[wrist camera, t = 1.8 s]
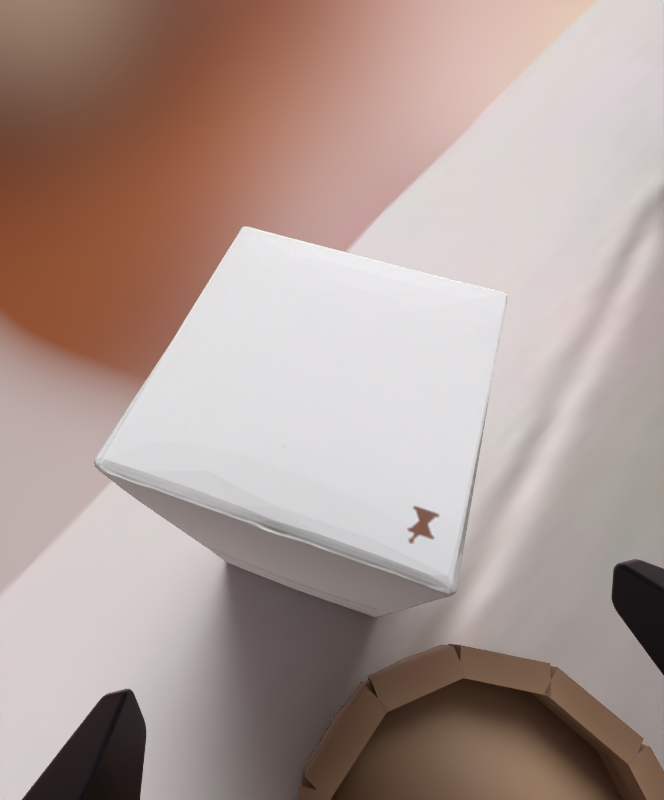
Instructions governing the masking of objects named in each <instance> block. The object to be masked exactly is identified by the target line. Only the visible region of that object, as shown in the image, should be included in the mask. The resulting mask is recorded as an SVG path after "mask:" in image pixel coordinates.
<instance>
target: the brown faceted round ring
mask: <svg viewBox="0 0 664 800" xmlns="http://www.w3.org/2000/svg"><path fill="white" fill-rule="evenodd" d="M367 677H368V681H367V682H366V683H365V684H364V683H363V682H361V683H360V685H359V686H358V687H357V689H356V690H355V692H354V693H353V695H352V696H351V697H350V698H349V700H348V701H347V702H346V703H345V705H344V706H343V707H342V708H341V710H340V711H339V712H338V714H337V715H336V716H335V717H334V719H333V721H332V722H331V724H330V726H329V727H328V729H327V731H326V732H325V734H324V736H323V737H322V739H321V741H320V743H319V744H318V746H317V747H316V749H315V750H314V751H313V753H312V754H311V756H310V757H309V759H308V760H307V762H306V770H305V771H303V773H302V779H301V785H300V791H299V797H298V800H664V771H663V769H662V767H661V766H660V764H659V762H658V760H657V758H656V756H655V755H654V753H653V751H652V749H651V747H649V746H646V745H643V744H642V741H643V738H642V737H641V736H640V735H638V734H637V733H636V732H635V731H634V730H632V729H631V728H630V727H629V726H628V725H626V724H625V723H624V722H623V721H622V720H620V719H619V718H618V717H617V716H616V715H614V714H613V713H612V712H611V711H610V710H608V709H607V708H606V707H605V706H604V705H602V704H601V703H600V702H599V701H598V700H596V699H595V698H594V697H593V696H591V695H590V694H589V693H588V692H587V691H585V690H584V689H583V688H582V687H581V686H579V685H578V684H577V683H576V682H575V681H573V680H572V679H571V678H570V677H569V676H567V675H566V674H565V673H564V672H563V671H561V670H560V669H559V668H558V667H552V666H550V663H545V662H540V661H535V660H530V659H525V658H520V657H515V656H510V655H505V654H500V653H495V652H491V651H486V650H481V649H476V648H471V647H466V646H461V645H453V644H448V645H439V646H437V647H435V648H432V649H430V650H428V651H425V652H423V653H420V654H417V655H414V656H411V657H408V658H405V659H402V660H400V661H398V662H397V663H395V664H393V665H391V666H389V667H387V668H385V669H383V670H381V671H379V672H377V673H374V674H372V675H370V676H367Z"/></svg>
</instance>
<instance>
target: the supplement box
mask: <svg viewBox="0 0 664 800" xmlns="http://www.w3.org/2000/svg"><path fill="white" fill-rule="evenodd" d="M506 303H507V295H506V294H505V293H503V292H500V291H497V290H492V289H488V288H485V287H481V286H477V285H472V284H468V283H464V282H460V281H456V280H452V279H448V278H444V277H440V276H436V275H432V274H428V273H424V272H420V271H416V270H412V269H409V268H405V267H401V266H397V265H393V264H389V263H385V262H382V261H378V260H374V259H370V258H366V257H362V256H358V255H354V254H350V253H346V252H343V251H339V250H335V249H331V248H327V247H323V246H319V245H315V244H312V243H308V242H304V241H300V240H296V239H292V238H289V237H285V236H281V235H277V234H273V233H270V232H266V231H262V230H258V229H255V228H251V227H242V228H241V230H240V232H239V234H238V235H237V237H236V238H235V240H234V242H233V243H232V245H231V247H230V248H229V250H228V251H227V253H226V254H225V256H224V258H223V259H222V261H221V263H220V264H219V266H218V267H217V269H216V271H215V272H214V274H213V275H212V277H211V279H210V280H209V282H208V284H207V285H206V287H205V289H204V290H203V292H202V293H201V295H200V296H199V298H198V300H197V301H196V303H195V304H194V306H193V308H192V309H191V311H190V313H189V314H188V316H187V318H186V319H185V321H184V322H183V324H182V326H181V327H180V329H179V331H178V332H177V334H176V336H175V337H174V339H173V340H172V342H171V343H170V345H169V347H168V348H167V350H166V351H165V353H164V354H163V356H162V357H161V359H160V360H159V362H158V363H157V365H156V366H155V368H154V369H153V371H152V372H151V374H150V375H149V377H148V379H147V380H146V381H145V383H144V384H143V386H142V387H141V389H140V391H139V392H138V394H137V395H136V396H135V398H134V399H133V401H132V403H131V404H130V406H129V407H128V409H127V410H126V412H125V413H124V415H123V417H122V418H121V420H120V421H119V423H118V424H117V426H116V427H115V429H114V430H113V432H112V434H111V436H110V437H109V438H108V440H107V441H106V443H105V444H104V446H103V447H102V448H101V450H100V451H99V453H98V454H97V456H96V458H95V461H94V464H95V467H96V468H97V469H98V470H99V471H101V472H102V473H103V474H104V475H106V476H107V477H108V478H110V479H111V480H112V481H113V482H115V483H116V484H117V485H118V486H120V487H121V488H122V489H123V490H125V491H126V492H127V493H129V494H130V495H132V496H133V497H134V498H136V499H137V500H138V501H140V502H141V503H143V504H144V505H146V506H147V507H149V508H150V509H151V510H153V511H154V512H156V513H157V514H159V515H160V516H162V517H163V518H164V519H166V520H167V521H169V522H170V523H172V524H173V525H175V526H176V527H178V528H179V529H181V530H182V531H183V532H185V533H186V534H188V535H189V536H191V537H192V538H194V539H195V540H197V541H198V542H199V543H201V544H202V545H204V546H205V547H207V548H208V549H210V550H211V551H212V552H214V553H215V554H216V555H218V556H219V557H220V558H222V559H223V560H224V561H226V562H228V563H230V564H232V565H235V566H237V567H240V568H242V569H245V570H247V571H250V572H252V573H255V574H257V575H260V576H262V577H265V578H267V579H270V580H272V581H275V582H277V583H280V584H282V585H285V586H287V587H290V588H293V589H295V590H298V591H301V592H304V593H307V594H309V595H312V596H315V597H318V598H321V599H323V600H326V601H329V602H332V603H335V604H338V605H341V606H344V607H346V608H349V609H352V610H355V611H358V612H361V613H364V614H367V615H369V616H372V617H378V616H381V615H384V614H388V613H392V612H395V611H399V610H402V609H406V608H409V607H413V606H417V605H420V604H423V603H427V602H431V601H434V600H437V599H441V598H444V597H448V596H451V595H453V594H454V593H455V592H456V591H457V584H458V577H459V571H460V565H461V559H462V554H463V548H464V542H465V536H466V530H467V524H468V518H469V512H470V506H471V501H472V495H473V489H474V483H475V477H476V471H477V465H478V459H479V453H480V447H481V441H482V435H483V429H484V423H485V417H486V411H487V406H488V400H489V394H490V388H491V383H492V377H493V372H494V367H495V361H496V356H497V351H498V346H499V341H500V335H501V330H502V326H503V319H504V314H505V309H506Z"/></svg>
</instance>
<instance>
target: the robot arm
mask: <svg viewBox="0 0 664 800" xmlns="http://www.w3.org/2000/svg"><path fill="white" fill-rule="evenodd" d="M612 602H613V605H614V607H615V609H616V611H617V612H618V614H619V615H620V616H621V618H622V619H623V621H624V622H625V623H626V625H627V626H628V627H629V629H630V630H631V631H632V633H633V634H634V636H635V637H636V638H637V640H638V641H639V642H640V644H641V645H642V646H643V648H644V649H645V651H646V652H647V653H648V655H649V656H650V657H651V659H652V660H653V661H654V663H655V664H656V666H657V667H658V668H659V670H660V671H661V672H662V674H663V675H664V569H663V568H660V567H657V566H655V565H652V564H649V563H647V562H644V561H641V560H637V559H636V560H629V561H625V562H622V563H618V564H616V566H615V567H614V571H613V584H612ZM145 744H146V725H145V721H144V718H143V716H142V713H141V710H140V708H139V705H138V703H137V700H136V698H135V695H134V693H133V691H132V690H130V689H124V690H120V691H116V692H112V693H109V694H106V695H105V696H103V697H102V698H101V699H100V701H99V702H98V703H97V704H96V706H95V707H94V708H93V709H92V711H91V712H90V713H89V715H88V716H87V717H86V718H85V720H84V721H83V722H82V723H81V725H80V726H79V727H78V729H77V730H76V731H75V732H74V734H73V735H72V736H71V738H70V739H69V740H68V741H67V743H66V744H65V745H64V746H63V748H62V749H61V750H60V752H59V753H58V754H57V755H56V757H55V758H54V759H53V761H52V762H51V763H50V764H49V766H48V767H47V768H46V769H45V771H44V772H43V773H42V775H41V776H40V777H39V778H38V780H37V781H36V782H35V784H34V785H33V786H32V787H31V789H30V790H29V791H28V792H27V794H26V795H25V796H24V798H23V799H22V800H140V793H141V783H142V773H143V763H144V753H145Z"/></svg>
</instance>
